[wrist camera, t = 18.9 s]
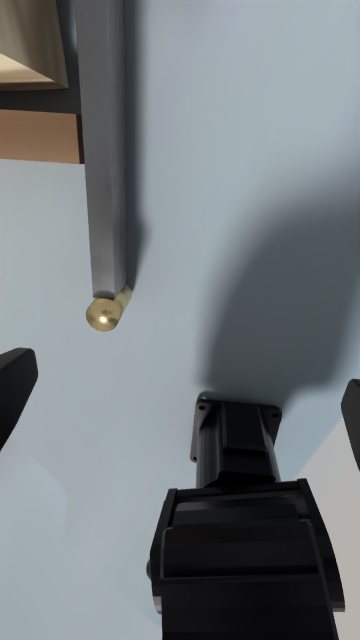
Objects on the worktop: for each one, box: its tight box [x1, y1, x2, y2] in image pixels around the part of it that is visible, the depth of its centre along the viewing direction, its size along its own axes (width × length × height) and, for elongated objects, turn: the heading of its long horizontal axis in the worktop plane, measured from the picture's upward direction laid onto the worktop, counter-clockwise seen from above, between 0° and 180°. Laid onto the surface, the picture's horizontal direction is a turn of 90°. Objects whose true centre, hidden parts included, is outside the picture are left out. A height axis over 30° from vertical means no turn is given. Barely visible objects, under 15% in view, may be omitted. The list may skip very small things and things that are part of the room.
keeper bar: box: [74, 0, 132, 331], centre depth 15 cm, size 21×2×4 cm, turn 176°
